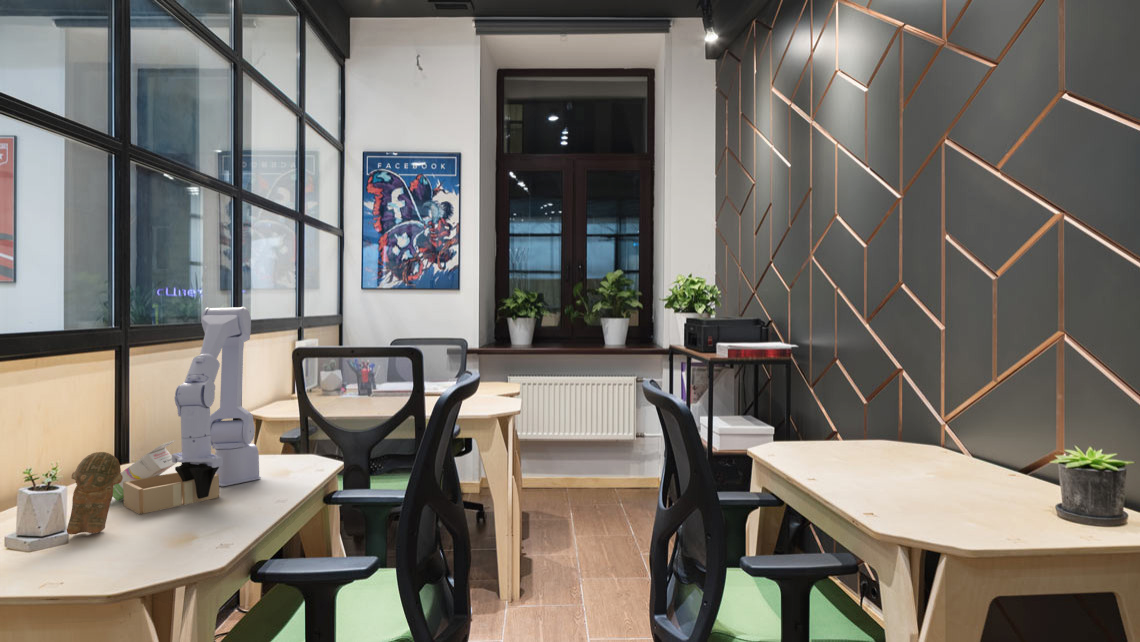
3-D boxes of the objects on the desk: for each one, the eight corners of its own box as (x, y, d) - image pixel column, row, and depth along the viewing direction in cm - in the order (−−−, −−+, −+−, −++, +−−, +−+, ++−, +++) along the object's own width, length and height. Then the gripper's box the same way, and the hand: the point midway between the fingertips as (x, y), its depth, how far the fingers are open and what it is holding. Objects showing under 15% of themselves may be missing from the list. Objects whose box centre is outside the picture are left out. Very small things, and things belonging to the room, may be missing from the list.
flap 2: (217, 496, 150) (216, 475, 150) (218, 497, 149) (218, 475, 149) (182, 504, 144) (182, 481, 144) (184, 505, 143) (183, 482, 143)
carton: (201, 489, 157) (200, 467, 157) (219, 497, 150) (218, 474, 150) (123, 505, 145) (123, 482, 145) (139, 514, 138) (138, 489, 138)
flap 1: (180, 504, 144) (179, 482, 144) (182, 505, 143) (181, 482, 143) (143, 512, 138) (142, 489, 138) (144, 513, 138) (143, 489, 138)
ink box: (116, 502, 148) (172, 461, 149) (102, 485, 147) (158, 444, 149) (136, 493, 156) (189, 454, 158) (123, 477, 156) (176, 438, 157)
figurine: (65, 542, 122) (62, 462, 121) (74, 529, 129) (72, 454, 129) (119, 534, 126) (117, 456, 125) (126, 522, 133) (123, 449, 133)
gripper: (157, 437, 144) (159, 498, 145) (200, 441, 138) (202, 505, 138) (188, 431, 151) (190, 489, 151) (230, 435, 145) (232, 496, 145)
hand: (198, 496), depth 145 cm, fingers open, 3 cm apart
